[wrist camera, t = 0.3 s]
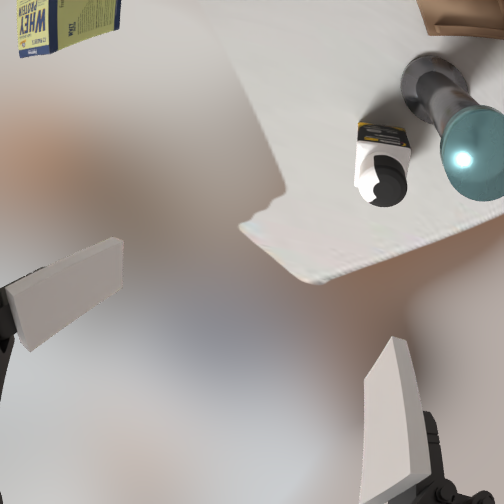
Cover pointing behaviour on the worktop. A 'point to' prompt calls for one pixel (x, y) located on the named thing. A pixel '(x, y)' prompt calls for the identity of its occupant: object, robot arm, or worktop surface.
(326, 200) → the worktop surface
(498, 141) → the bobbin post
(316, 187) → the worktop surface
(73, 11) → the protein box
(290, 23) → the worktop surface
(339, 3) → the worktop surface
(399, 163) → the medicine bottle
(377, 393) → the robot arm
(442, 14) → the notched board
